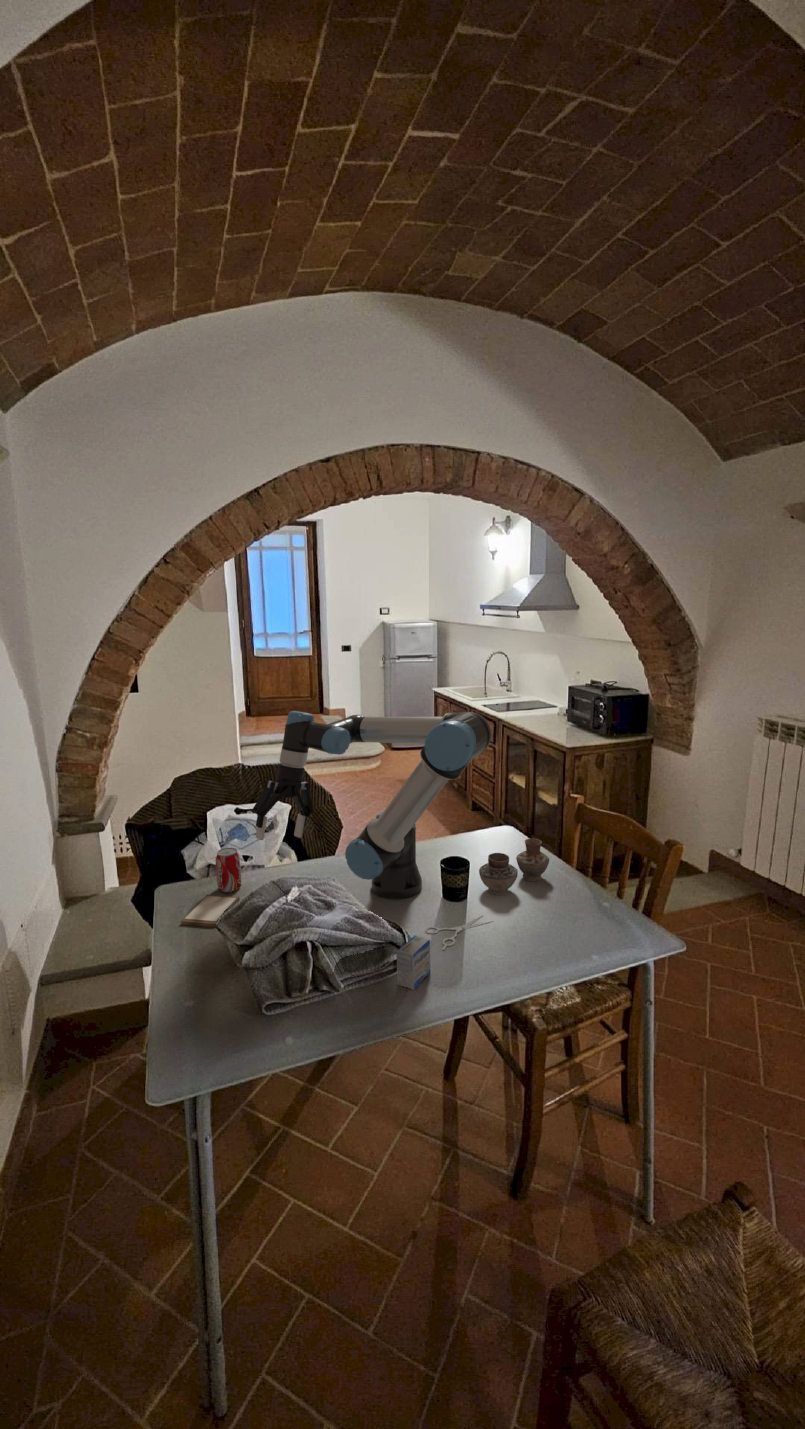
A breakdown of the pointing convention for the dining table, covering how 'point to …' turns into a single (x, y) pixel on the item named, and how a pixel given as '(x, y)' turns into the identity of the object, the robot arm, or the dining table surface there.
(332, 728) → the robot arm
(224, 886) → the soda can
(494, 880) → the pottery
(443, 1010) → the dining table surface
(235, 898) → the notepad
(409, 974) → the medicine box
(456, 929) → the scissors
